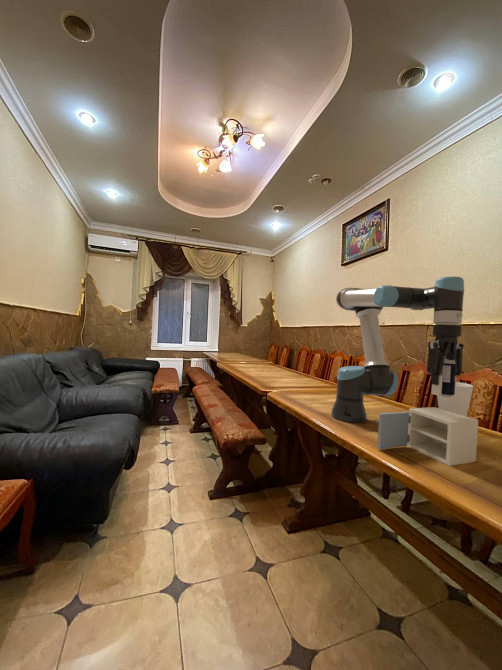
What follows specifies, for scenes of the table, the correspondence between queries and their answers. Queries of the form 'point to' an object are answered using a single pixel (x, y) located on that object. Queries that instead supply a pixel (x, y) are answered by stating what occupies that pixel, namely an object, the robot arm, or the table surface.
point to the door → (393, 429)
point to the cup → (457, 399)
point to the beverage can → (448, 378)
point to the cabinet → (443, 435)
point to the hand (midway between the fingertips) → (443, 394)
